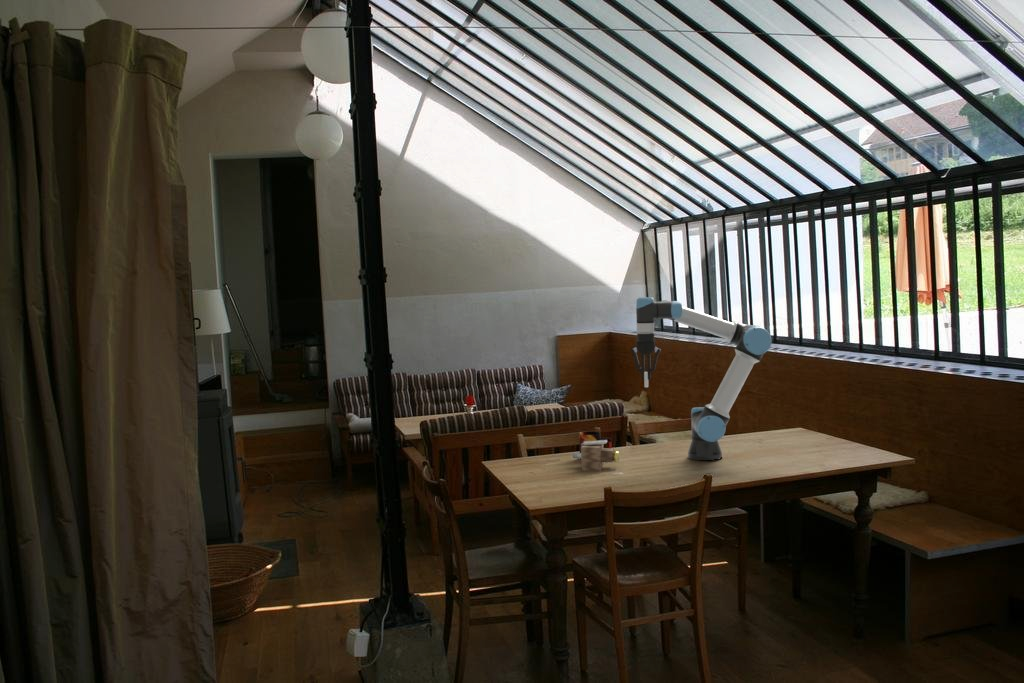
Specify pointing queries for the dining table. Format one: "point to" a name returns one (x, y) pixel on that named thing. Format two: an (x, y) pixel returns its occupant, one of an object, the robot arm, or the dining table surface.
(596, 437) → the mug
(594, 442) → the keeper flap
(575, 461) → the dining table surface
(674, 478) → the dining table surface
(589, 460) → the block
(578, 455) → the pin
